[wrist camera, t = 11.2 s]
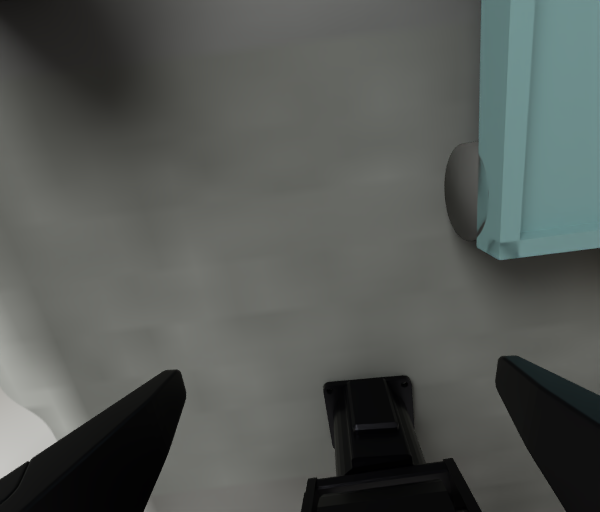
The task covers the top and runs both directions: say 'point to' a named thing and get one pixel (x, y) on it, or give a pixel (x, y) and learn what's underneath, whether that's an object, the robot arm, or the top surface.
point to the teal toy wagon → (532, 132)
